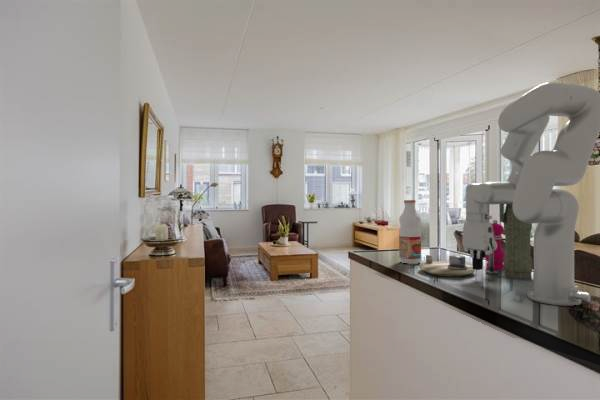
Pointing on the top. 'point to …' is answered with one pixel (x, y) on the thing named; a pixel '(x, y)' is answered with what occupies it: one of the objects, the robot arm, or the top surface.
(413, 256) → the fruit juice
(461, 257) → the cover
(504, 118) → the robot arm
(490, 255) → the globe topped trophy
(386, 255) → the top surface
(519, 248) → the thermos
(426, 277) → the top surface
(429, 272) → the turntable base
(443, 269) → the turntable
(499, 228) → the pepper mill
